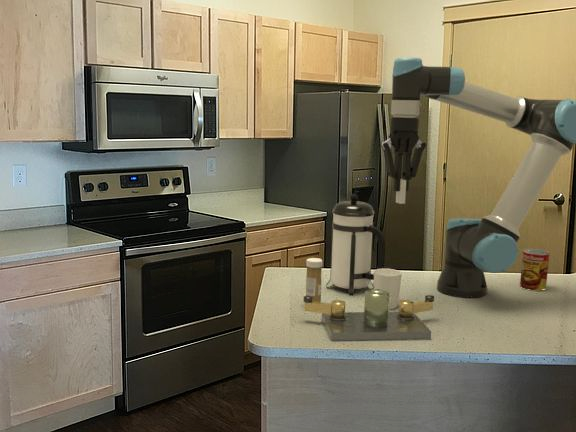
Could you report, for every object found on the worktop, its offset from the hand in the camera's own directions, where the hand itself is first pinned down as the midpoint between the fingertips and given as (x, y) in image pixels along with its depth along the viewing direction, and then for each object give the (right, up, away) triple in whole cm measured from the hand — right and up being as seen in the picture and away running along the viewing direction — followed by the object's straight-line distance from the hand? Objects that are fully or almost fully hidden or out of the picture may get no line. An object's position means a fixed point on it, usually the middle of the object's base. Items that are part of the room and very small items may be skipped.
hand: (400, 202), depth 175 cm
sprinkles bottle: (-24, -29, +6) cm, 38 cm away
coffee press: (-11, -27, +22) cm, 36 cm away
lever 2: (+3, -30, -7) cm, 31 cm away
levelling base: (-9, -33, -12) cm, 36 cm away
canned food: (+48, -27, +30) cm, 62 cm away
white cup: (-3, -30, +7) cm, 31 cm away
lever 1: (-22, -30, -9) cm, 38 cm away
